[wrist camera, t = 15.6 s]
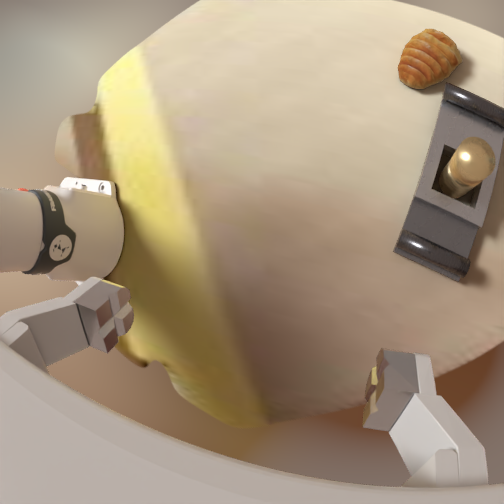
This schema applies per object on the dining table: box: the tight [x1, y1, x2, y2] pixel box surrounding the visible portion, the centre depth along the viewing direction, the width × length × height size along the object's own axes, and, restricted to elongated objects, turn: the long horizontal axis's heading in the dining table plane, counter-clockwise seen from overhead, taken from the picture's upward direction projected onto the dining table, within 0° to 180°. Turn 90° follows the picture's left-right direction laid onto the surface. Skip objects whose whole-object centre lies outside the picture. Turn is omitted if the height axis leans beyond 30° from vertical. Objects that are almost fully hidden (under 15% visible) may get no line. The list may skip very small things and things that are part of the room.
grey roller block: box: [393, 83, 504, 282], centre depth 27 cm, size 20×8×5 cm, turn 157°
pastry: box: [398, 29, 462, 89], centre depth 29 cm, size 9×7×4 cm
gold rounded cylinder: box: [439, 137, 496, 199], centre depth 25 cm, size 4×4×10 cm
